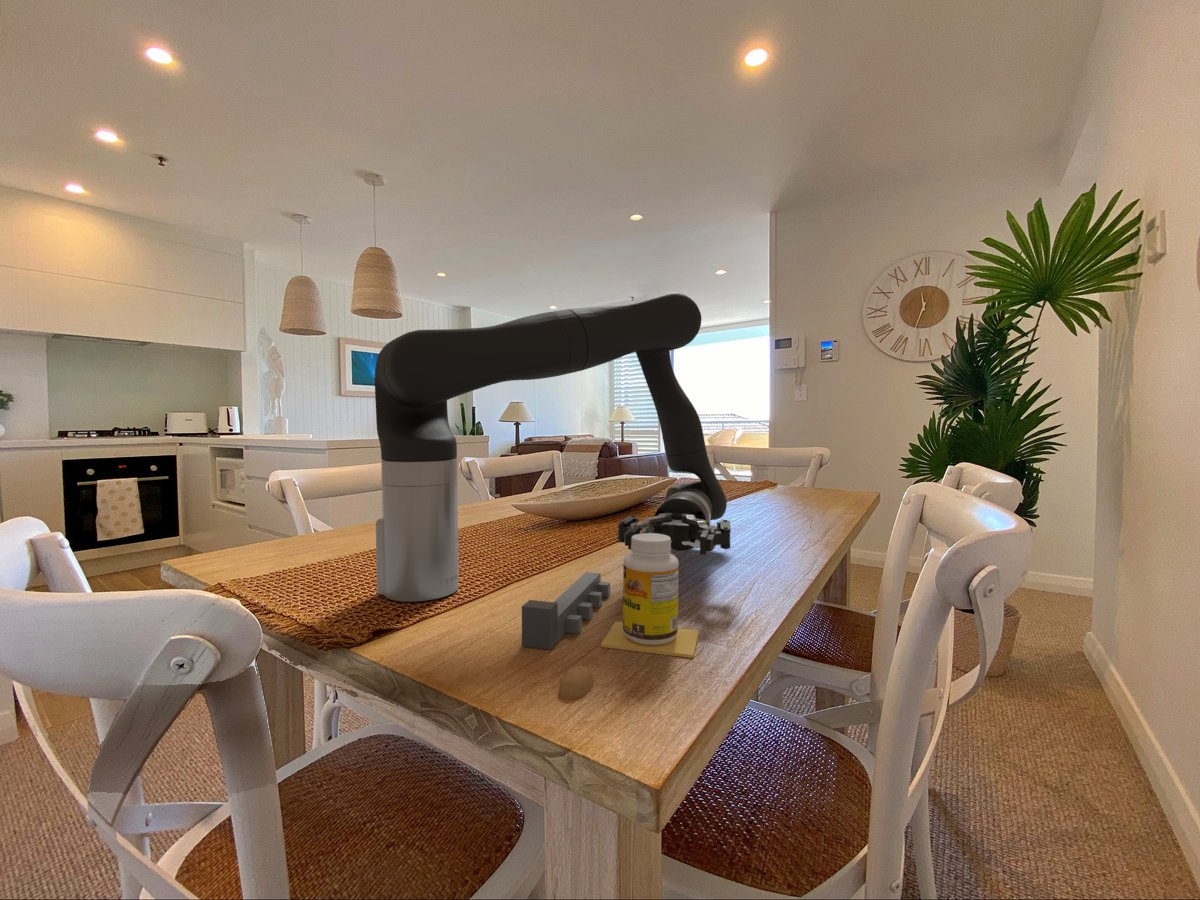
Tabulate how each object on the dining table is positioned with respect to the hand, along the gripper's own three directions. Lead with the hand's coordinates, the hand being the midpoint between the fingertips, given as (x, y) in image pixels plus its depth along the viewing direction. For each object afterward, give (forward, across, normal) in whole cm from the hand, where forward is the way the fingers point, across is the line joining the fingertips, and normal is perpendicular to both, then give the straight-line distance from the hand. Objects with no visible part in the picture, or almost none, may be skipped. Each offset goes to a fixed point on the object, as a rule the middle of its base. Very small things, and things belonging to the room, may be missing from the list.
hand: (666, 543), depth 62 cm
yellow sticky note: (+9, 0, +8) cm, 12 cm away
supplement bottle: (+9, 0, +8) cm, 12 cm away
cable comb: (+5, -10, +8) cm, 14 cm away
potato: (+20, -4, +8) cm, 22 cm away
